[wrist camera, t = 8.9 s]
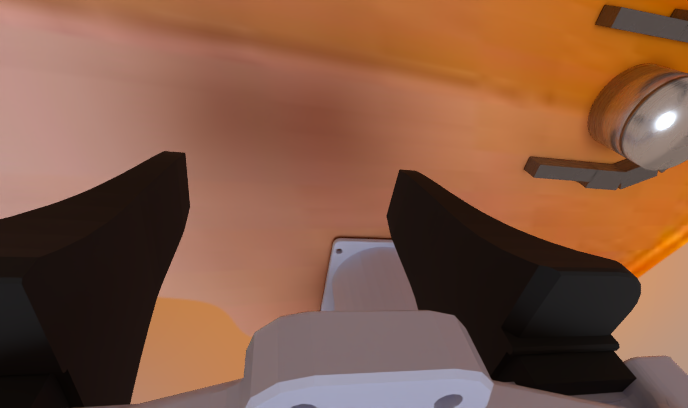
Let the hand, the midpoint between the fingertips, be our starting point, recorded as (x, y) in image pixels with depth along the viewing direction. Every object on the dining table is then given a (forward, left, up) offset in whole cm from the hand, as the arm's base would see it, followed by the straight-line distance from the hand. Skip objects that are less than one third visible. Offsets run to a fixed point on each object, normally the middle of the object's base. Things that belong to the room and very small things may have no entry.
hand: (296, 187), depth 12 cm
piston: (+2, -23, -10) cm, 25 cm away
